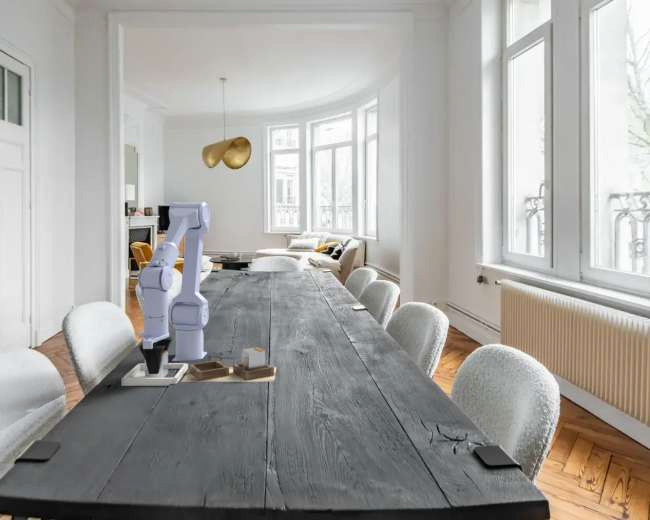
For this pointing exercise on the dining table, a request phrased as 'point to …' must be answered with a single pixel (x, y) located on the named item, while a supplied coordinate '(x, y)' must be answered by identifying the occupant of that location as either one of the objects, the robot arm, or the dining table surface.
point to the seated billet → (253, 359)
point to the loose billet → (163, 367)
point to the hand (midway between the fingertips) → (156, 370)
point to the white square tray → (138, 378)
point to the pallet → (229, 378)
